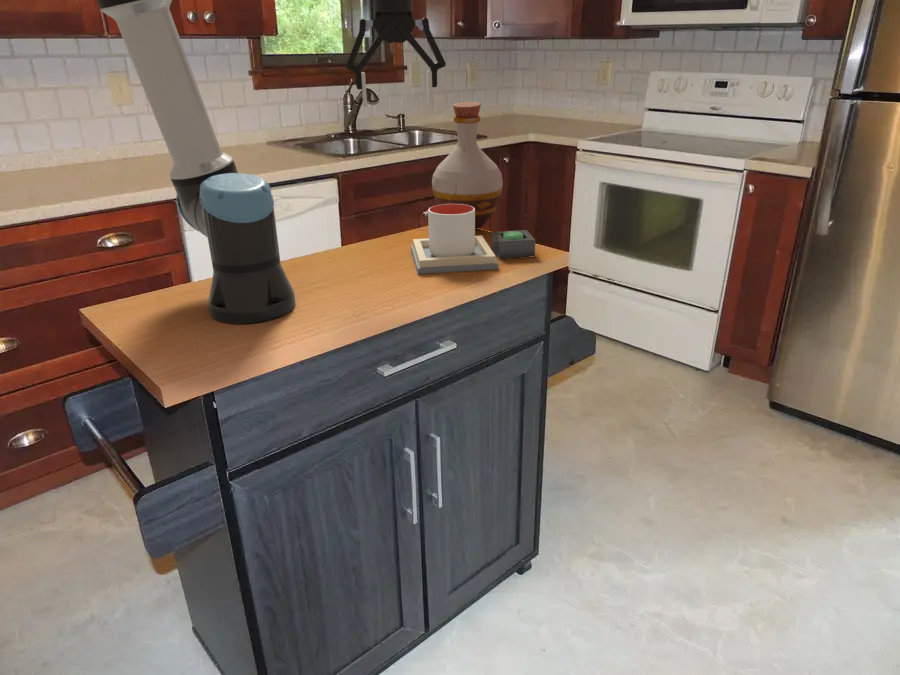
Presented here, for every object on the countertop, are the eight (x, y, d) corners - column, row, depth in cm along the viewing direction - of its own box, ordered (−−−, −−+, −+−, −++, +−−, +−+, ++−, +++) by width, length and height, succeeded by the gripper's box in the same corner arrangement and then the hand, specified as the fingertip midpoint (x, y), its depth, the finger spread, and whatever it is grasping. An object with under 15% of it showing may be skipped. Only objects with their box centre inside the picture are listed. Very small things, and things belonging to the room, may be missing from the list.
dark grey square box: (499, 259, 146) (499, 241, 144) (492, 248, 153) (492, 231, 151) (534, 257, 146) (535, 239, 145) (525, 246, 154) (526, 230, 152)
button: (505, 251, 147) (505, 237, 146) (501, 245, 151) (501, 231, 149) (524, 250, 147) (525, 236, 146) (520, 244, 151) (520, 230, 150)
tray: (417, 274, 137) (417, 261, 136) (411, 250, 153) (410, 238, 152) (498, 269, 139) (498, 256, 138) (483, 246, 155) (483, 234, 154)
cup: (473, 246, 150) (473, 203, 146) (476, 260, 141) (476, 214, 137) (429, 248, 150) (428, 204, 146) (429, 261, 141) (428, 215, 137)
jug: (441, 214, 183) (439, 99, 170) (506, 216, 180) (508, 99, 167) (426, 233, 165) (422, 106, 153) (497, 236, 162) (499, 107, 150)
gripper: (327, -10, 125) (337, 108, 134) (458, -11, 128) (459, 105, 137) (328, -7, 132) (338, 105, 141) (452, -9, 135) (454, 101, 144)
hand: (397, 105), depth 139 cm, fingers open, 13 cm apart
